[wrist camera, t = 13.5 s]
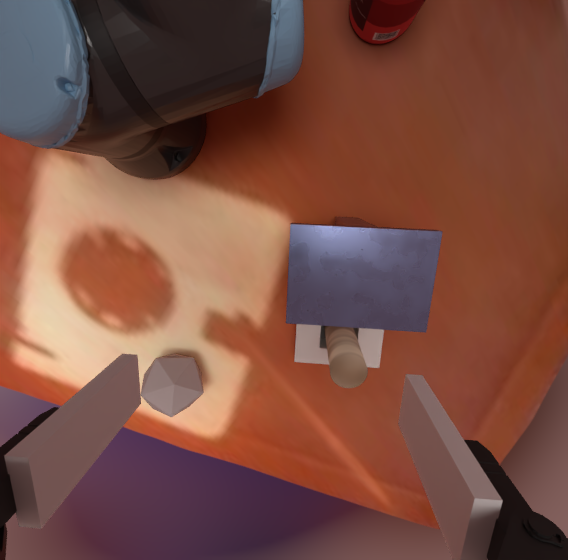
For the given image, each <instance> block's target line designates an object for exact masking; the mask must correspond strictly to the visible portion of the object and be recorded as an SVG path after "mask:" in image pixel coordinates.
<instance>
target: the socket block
mask: <svg viewBox="0 0 568 560" xmlns="http://www.w3.org/2000/svg"><path fill="white" fill-rule="evenodd" d="M354 331H355V334H356V337H357V340H358V343H359V346H360V348H361V351H362V354H363V357H364V360H365V363H366V366H367V367H373V368H379V365H380V357H381V349H382V342H383V334H384V330H382V329H367V328H354ZM294 362H303V363H317V364H329V360H328V352H327V345H326V337H325V330H324V326H321V325H305V324H297V326H296V343H295V361H294Z"/></svg>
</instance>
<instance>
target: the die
mask: <svg viewBox="0 0 568 560" xmlns="http://www.w3.org/2000/svg"><path fill="white" fill-rule="evenodd" d="M202 394H203V384H202V375H201V372H200V369H199V367H198V365H197V363H196V361H195V359H194V358H192V357H188V356H183V355H179V354H171V355H167V356H163V357H159V358H156V359H155V360H154V362H153V363H152V365H151V366H150V367H149V369H148V370H147V371H146V373H145V374H144V379H143V385H142V391H141V396H142V397H143V398H144V399H145V400H146V402H147V403H148V404H149V405H150V406H151V407H152V408H153V409H155V410H157V411H159V412H161V413H164V414H166V415H168V416H170V417H173V416H174V415H176V414H178V413H179V412H181V411H183V410H184V409H186V408H187V407H189V406H190V405H191V404H192V403H193V402H194V401H195V400H196V399H197V398H198V397H200V396H201V395H202Z"/></svg>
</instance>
